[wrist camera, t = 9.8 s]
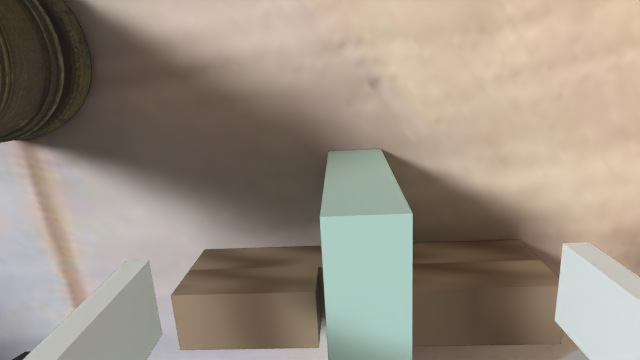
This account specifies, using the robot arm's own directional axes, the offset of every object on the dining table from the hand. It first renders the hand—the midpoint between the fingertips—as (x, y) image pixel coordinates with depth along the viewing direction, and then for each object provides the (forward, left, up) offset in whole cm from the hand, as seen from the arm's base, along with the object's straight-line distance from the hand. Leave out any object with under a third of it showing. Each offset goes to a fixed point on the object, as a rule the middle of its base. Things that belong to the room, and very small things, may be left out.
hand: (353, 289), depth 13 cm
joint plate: (0, -4, -10) cm, 11 cm away
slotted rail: (0, -4, -10) cm, 11 cm away
